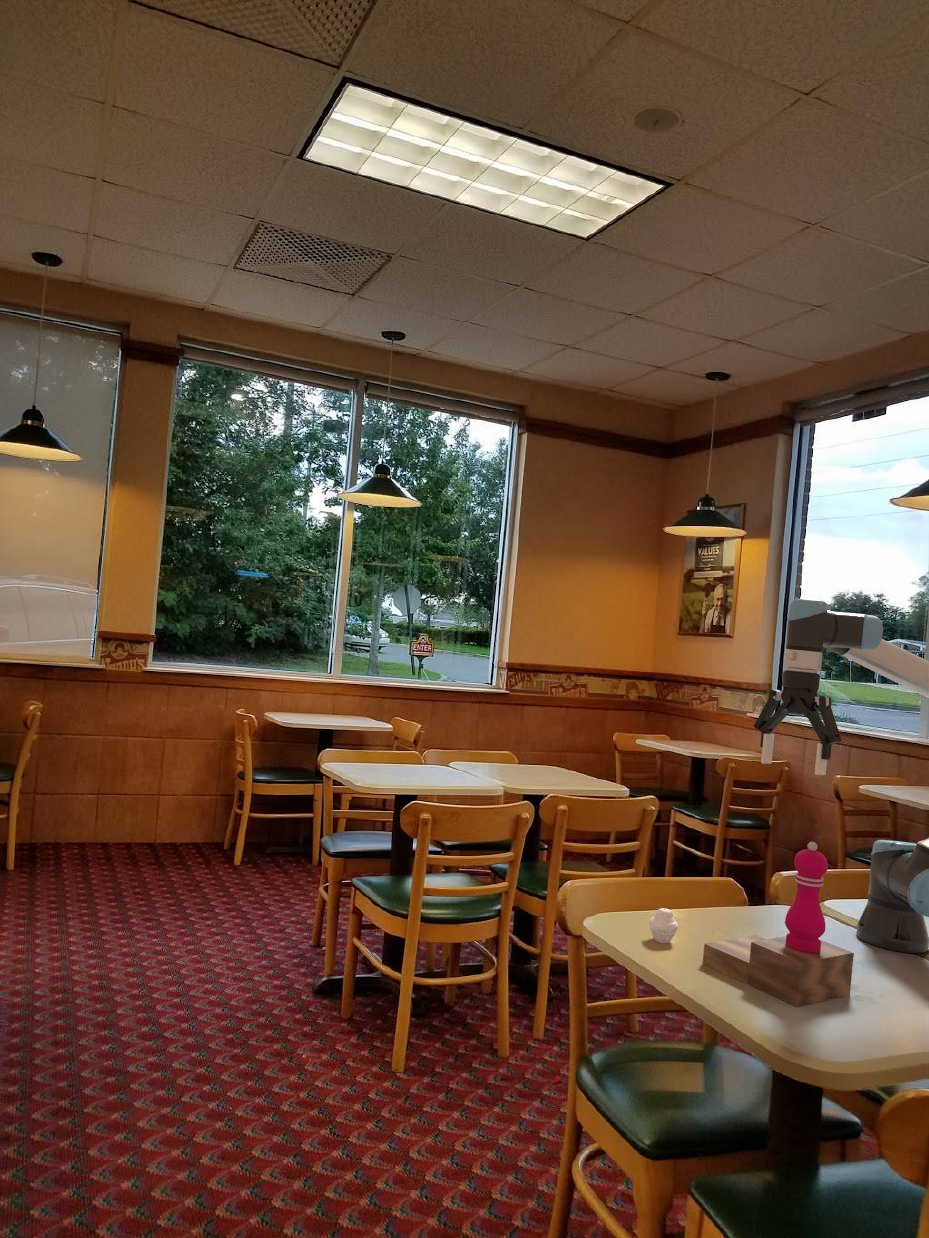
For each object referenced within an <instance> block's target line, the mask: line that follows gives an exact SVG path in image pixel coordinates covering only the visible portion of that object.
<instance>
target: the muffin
mask: <svg viewBox="0 0 929 1238" xmlns="http://www.w3.org/2000/svg"><path fill="white" fill-rule="evenodd" d="M648 925H649V930H650V932H651V935H652V937H653V940H654V941H655V940H656V941H655V942H657V941H658V942H657V943H660V942H662V943H661V944H670V943H671V941H672V940H673V938H674V937H675V935H676V934H677V931H678V929H679V924H678V922H677V920H675V917H674V913H673V912H672V910H671V909H668V908H666V907H664V908H663V907H661V908H658V909H657V910H656V912H655V914H654V915H653V916H652V917H650V919H649V920H648ZM669 942H670V943H669Z"/></svg>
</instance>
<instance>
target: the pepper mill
mask: <svg viewBox="0 0 929 1238" xmlns="http://www.w3.org/2000/svg"><path fill="white" fill-rule="evenodd" d="M817 849H818V844H817V843H816V842H814V841H809V842H808V844H807V849H802V850H800V851H798V852H797V853H796V854H795V857H794V860H793V865H794V868H795V870H796V871H797V873H795V879H794V880H795V882H796V883H797V884H796V887H797V888H796V895H795V897H794V899H793V902H792V903H791V905H790V907H789V909H788V910H787V913H786V914H785V920H784V924H785V928H786V929H787V930H788V933H786V935H785V937H786V945H787V946H788V947H790V948H792V949H794V950H797V951H801V952H806V953H818V952H820V951H821V941H820V940H821V939H820V938H821V937H822V936H823V935H824V934H825V932H826V919H825V916H824V913H823V911H822V907H821V904H820V892H821V887H823V886H824V881H825V879H824V877H823V876H824V875H825V874H826V873H827V871H828V869H829V863H828V860H827V857H826V856H825V855H824V854H823V853H822V852H820V851H818V850H817Z"/></svg>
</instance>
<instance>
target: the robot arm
mask: <svg viewBox="0 0 929 1238" xmlns="http://www.w3.org/2000/svg"><path fill="white" fill-rule="evenodd" d="M827 604H828V603H827V601H825V600H819V599H814V598H813V599H811V598H795V599H792V601H791V603H790V606H789V609H788V610H789V611H788V617H787V627H786V629H787V632H786V643H785V651H784V652H785V653H784V662H783V667H784V668H786V669H785V670H784V671H783V672H782V681H781V683H782V684H781V686H782V687H783V689H782V691H781V690H780V689H770V690H769V692H768V699H767V701H766V702H765V704H764V706H763V708H762V710H761V711H760V714H759V715H758V718H756V721H755V722H754V725H753V728H754V729H756V730H758V731H759V732H760V734H761V735H760V743H759V744H760V748H762V750H761V761H760V763H761V764H763V765H764V764H766V765H767V764H768V765H769V764H772V763H773V757H774V756H773V754H774V742H775V734H774V732H773V731H774V730H775V729H776V728H777V727H778V725H780V724H781V723H782V722H783V720H784V719H785V718H786V717H787V716H788V715H789V714H797V715H803V716H805V718H807V720H808V722H809V723H810V725H811V727H812V728H813V730H814V732H815V734H816V735H817V737H818V739H819V740H820V741H819V743H818V742H817V743H816V744H817V746H816V747H817V748H816V754H815V755H816V757H815V767H814V775H815V776H826V774H827V765H828V761H829V760H831V754H832V746H833V744H837V743H841V741H842V737H841V735H840V731H839V727H838V724H837V722H836V719H835V715H834V713H833V710H832V698H831V696H826V695H821V696H818V691H819V689H820V681H821V675H820V673H818V672H820V671H821V670H822V663H823V662H822V661H823V660H822V659H823V652H824V650H823V648H824V649H826V650H829V651H831V652H832V653H835V654H837V655H840V656H841V657H843V658H846V659H848V660H850V661H852V662H854V663H857V664H858V665H860V666H863V667H865V668H866V669H869V670H870V671H872V672H874V673H876V674H878V675H881V676H882V677H885V678H887V679H889V680H891V681H893V682H895V683H896V684H898V685H900V686H902V687H905V688H907V689H909V690H911V691H913V692H915V693H918V694H919V695H921V696H923V697H926V698H927V699H929V660H926V659H925V658H923V657H920V656H918V655H916V654H914V653H912V652H910V651H909V650H906V649H904V648H903V647H900V646H898V645H896V644H894V643H892V642H890V641H888V640H885V639H884V638H883V633H884V626H883V623H882V620H881V619H880V618H879V617H878V616H875V615H872V614H871V615H870V614H866V613H855V612H854V613H852V612H839V611H831V610H828V605H827ZM780 700H781V701H782V703H781V704H780V705H779V703H780ZM778 705H779V706H778ZM816 705H817V706H818V709H819V710H818V709H817V708H816ZM776 709H777V710H776ZM819 714H820V715H819ZM820 716H821V717H820ZM870 856H871V859H870V871H869V880H868V882H869V883H868V884H869V885H868V895H867V901H866V905H865V907H864V910H862V913H861V916H860V918H859V920H858V921H857V925H856V933H855V934H856V936H857V937H858V938H859V939H860V940H862V941H864V942H866V943H868V944H871V945H872V946H875V947H879V948H883V949H885V950H890V951H895V952H902V953H911V954H921V953H923V954H924V953H926V951H927V950H928V948H929V934H928V933H929V932H928V928H927V924H926V921H925V917H927V918H929V837H927V838H926V839H923V840H920V841H918V842H916V843H915V842H908V841H907V842H906V841H900V840H899V841H898V840H889V839H888V840H887V839H877V840H875V841H874V843H873V845H872V851H871V853H870ZM928 951H929V950H928ZM928 951H927V952H928Z"/></svg>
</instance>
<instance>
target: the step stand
mask: <svg viewBox="0 0 929 1238" xmlns="http://www.w3.org/2000/svg"><path fill="white" fill-rule="evenodd" d="M819 940H820V941H821V951H820V952H818V953H806V952H801V951H797V950H794V949H792V948H790V947H788V946H787V945H786V936H781V937H774V938H767V939H766V938H765V937H761V936H759V935H751V936H744V937H739V938H731V939H726V940H724V939H723V940H717V941H712V942H706V943H703V954H702V956H703V957H702V964H703V965H705V966H707V967H709V968H711V969H714V970H715V971H717V972H720V973H722V974H724V975H727V976H729V977H731V978H733V979H735V980H737V981H739V982H741V983H744V984H746V985H748V986H750V987H752V988H755V989H757V990H759V991H761V992H763V993H765V994H767V995H770V996H772V997H774V998H776V999H779V1000H780V1001H782V1002H785V1003H787V1004H790V1005H791V1006H793V1007H795V1008H799V1007H803V1006H808V1005H813V1004H817V1003H821V1002H822V1003H823V1002H827V1001H830V1000H834V999H839V998H844V997H849V996H851V989H852V988H851V986H852V976H853V968H854V967H853V965H854V957H855V956H854V955H855V952H853V951H850V950H847V949H845V948H843V947H840V946H837V945H834V944H833V943H829V942H827V941H824V940H821V939H819Z"/></svg>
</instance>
